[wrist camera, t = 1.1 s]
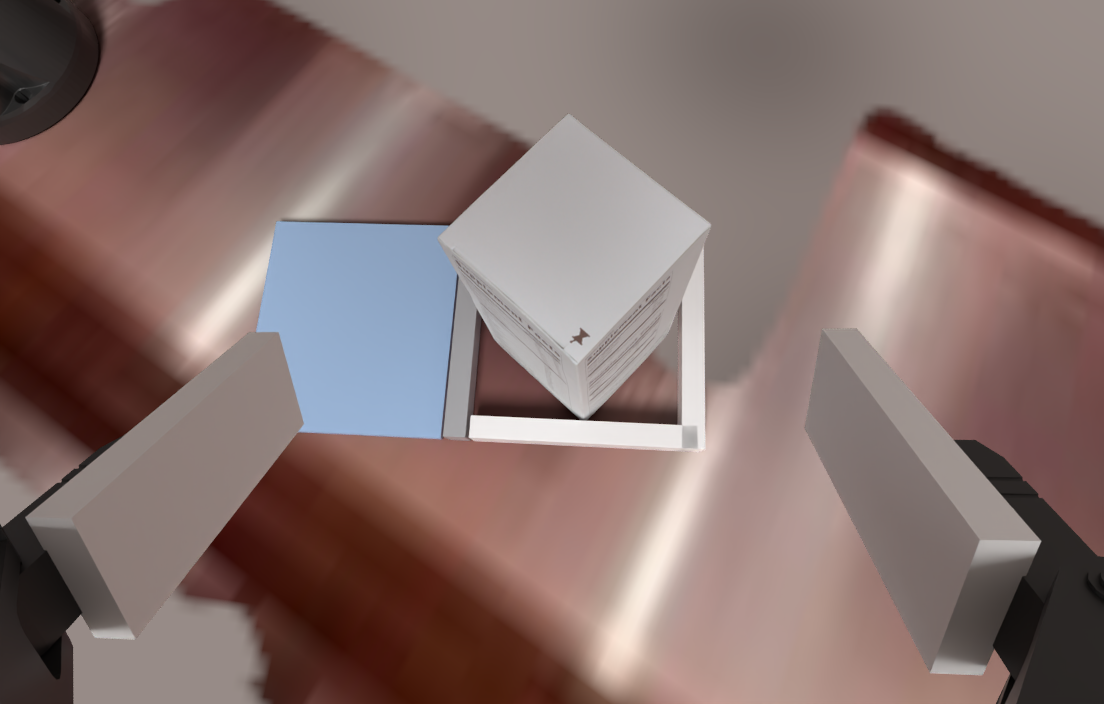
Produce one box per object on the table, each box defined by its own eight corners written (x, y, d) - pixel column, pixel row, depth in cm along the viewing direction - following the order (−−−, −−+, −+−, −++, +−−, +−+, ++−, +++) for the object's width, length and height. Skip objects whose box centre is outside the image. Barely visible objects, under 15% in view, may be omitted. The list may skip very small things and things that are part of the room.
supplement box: (672, 332, 43) (724, 226, 27) (584, 426, 42) (583, 373, 26) (575, 249, 45) (568, 104, 29) (488, 336, 44) (430, 234, 28)
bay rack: (280, 224, 47) (267, 212, 45) (698, 235, 45) (703, 223, 43) (242, 429, 43) (226, 425, 41) (699, 452, 41) (705, 449, 39)
